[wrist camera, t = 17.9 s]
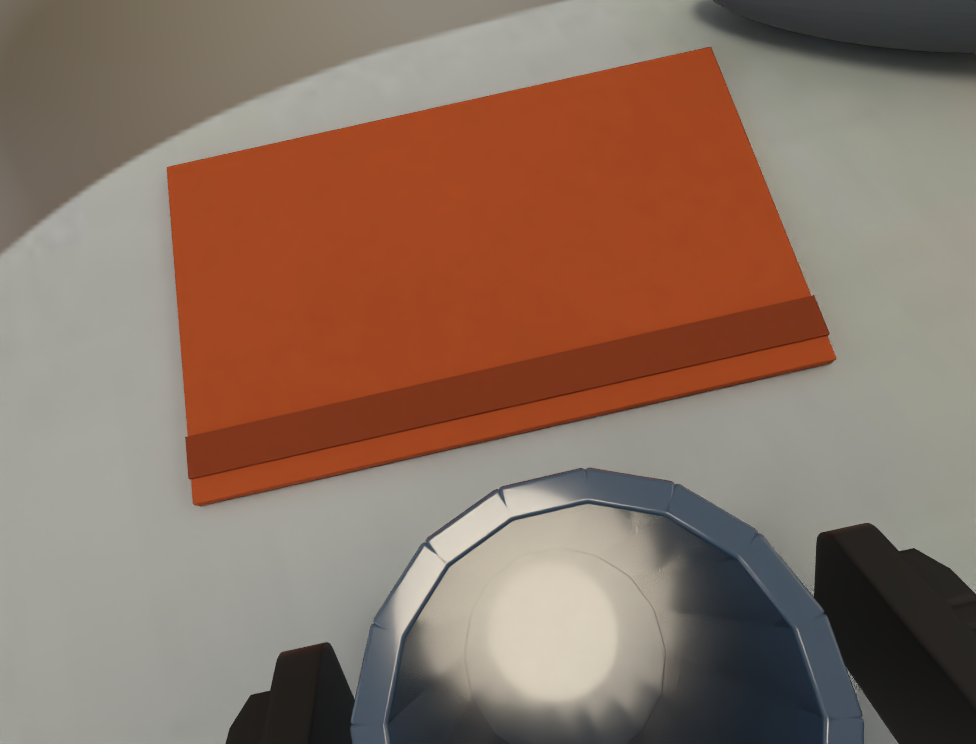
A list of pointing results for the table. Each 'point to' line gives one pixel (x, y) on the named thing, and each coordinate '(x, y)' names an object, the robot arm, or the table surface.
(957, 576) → the robot arm
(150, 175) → the table surface
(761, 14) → the paintbrush
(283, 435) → the orange flat tray
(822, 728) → the cup
